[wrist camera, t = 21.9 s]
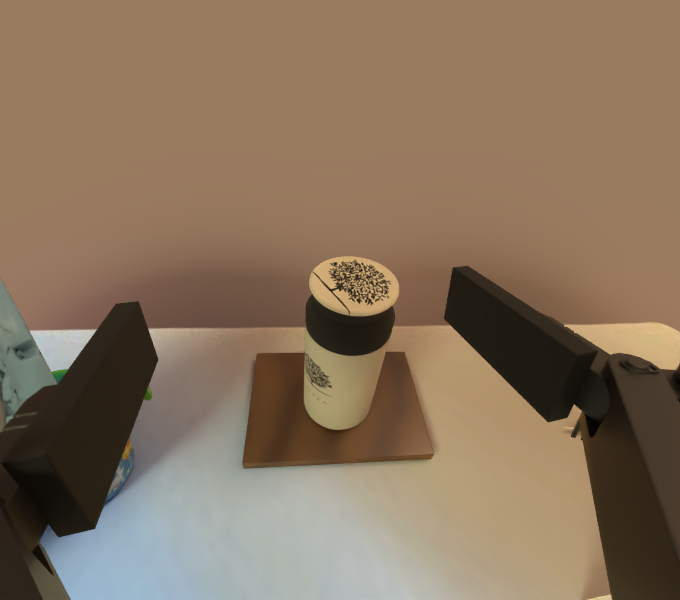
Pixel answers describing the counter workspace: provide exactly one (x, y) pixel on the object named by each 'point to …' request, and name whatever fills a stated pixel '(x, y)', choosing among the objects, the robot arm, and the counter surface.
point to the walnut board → (323, 443)
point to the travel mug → (346, 338)
